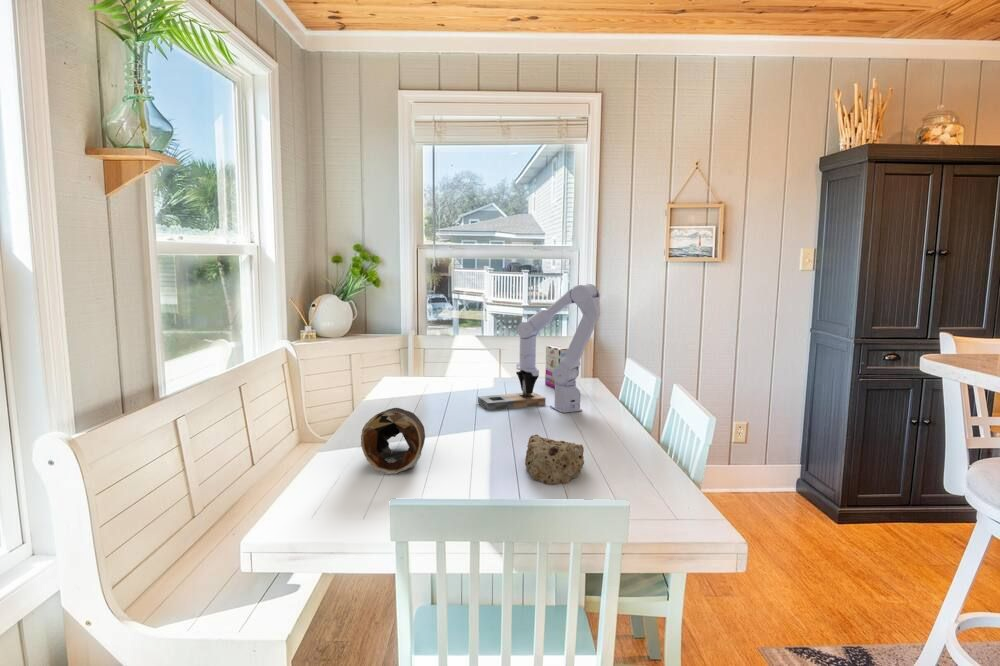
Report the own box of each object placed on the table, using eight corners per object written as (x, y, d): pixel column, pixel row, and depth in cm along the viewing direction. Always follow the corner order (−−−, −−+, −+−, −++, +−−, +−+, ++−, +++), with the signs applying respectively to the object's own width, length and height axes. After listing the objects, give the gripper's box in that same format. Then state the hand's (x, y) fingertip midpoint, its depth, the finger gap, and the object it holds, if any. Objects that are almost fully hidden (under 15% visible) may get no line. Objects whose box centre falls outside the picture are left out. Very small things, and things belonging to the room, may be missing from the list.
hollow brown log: (427, 400, 168) (418, 406, 143) (434, 455, 167) (426, 470, 142) (374, 407, 168) (356, 413, 143) (381, 462, 167) (364, 478, 142)
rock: (519, 460, 158) (528, 423, 158) (571, 473, 158) (581, 437, 158) (523, 481, 137) (534, 439, 137) (584, 496, 138) (595, 454, 137)
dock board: (545, 404, 213) (545, 398, 213) (488, 410, 204) (488, 403, 204) (533, 398, 222) (533, 392, 222) (477, 403, 214) (477, 396, 213)
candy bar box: (569, 389, 239) (570, 348, 237) (558, 390, 237) (559, 349, 235) (555, 383, 249) (556, 344, 247) (544, 384, 247) (545, 345, 245)
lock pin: (532, 401, 215) (533, 380, 214) (524, 402, 213) (525, 380, 212) (528, 399, 218) (529, 378, 217) (521, 400, 216) (521, 379, 215)
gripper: (509, 352, 218) (508, 388, 220) (526, 358, 205) (525, 397, 207) (526, 351, 221) (526, 387, 223) (544, 357, 208) (543, 395, 210)
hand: (527, 392), depth 215 cm, fingers closed on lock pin, 3 cm apart
